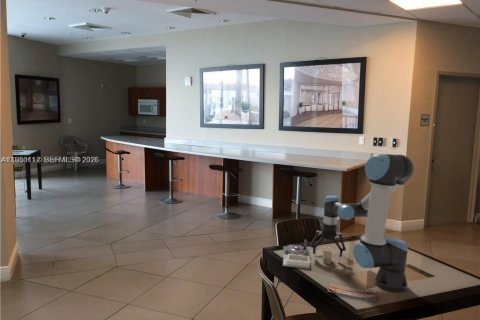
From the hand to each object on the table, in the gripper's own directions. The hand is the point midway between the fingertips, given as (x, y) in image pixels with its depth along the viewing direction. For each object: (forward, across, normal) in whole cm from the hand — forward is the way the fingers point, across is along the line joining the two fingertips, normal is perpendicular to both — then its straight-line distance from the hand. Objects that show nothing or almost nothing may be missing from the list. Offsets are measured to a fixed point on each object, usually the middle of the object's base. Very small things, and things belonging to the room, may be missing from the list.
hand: (326, 260), depth 216 cm
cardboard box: (0, 0, 0) cm, 0 cm away
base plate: (0, +17, 0) cm, 17 cm away
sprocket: (-1, +17, -6) cm, 18 cm away
